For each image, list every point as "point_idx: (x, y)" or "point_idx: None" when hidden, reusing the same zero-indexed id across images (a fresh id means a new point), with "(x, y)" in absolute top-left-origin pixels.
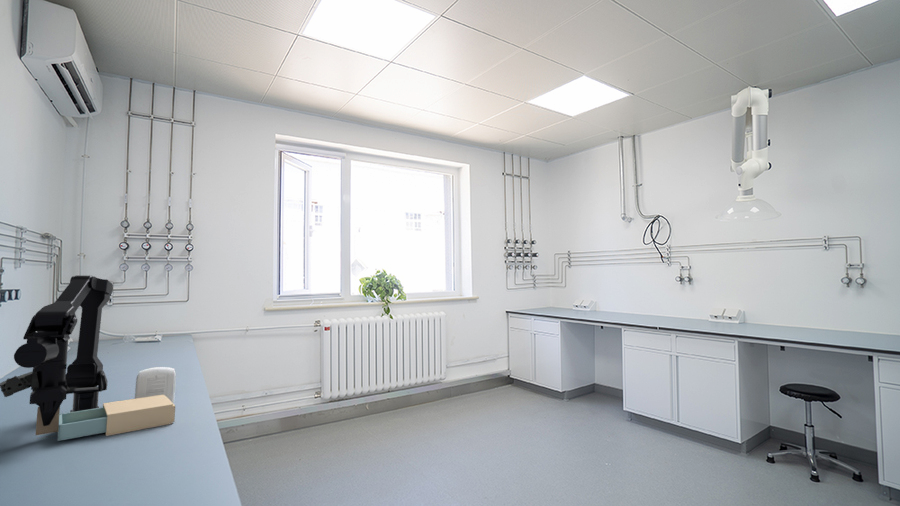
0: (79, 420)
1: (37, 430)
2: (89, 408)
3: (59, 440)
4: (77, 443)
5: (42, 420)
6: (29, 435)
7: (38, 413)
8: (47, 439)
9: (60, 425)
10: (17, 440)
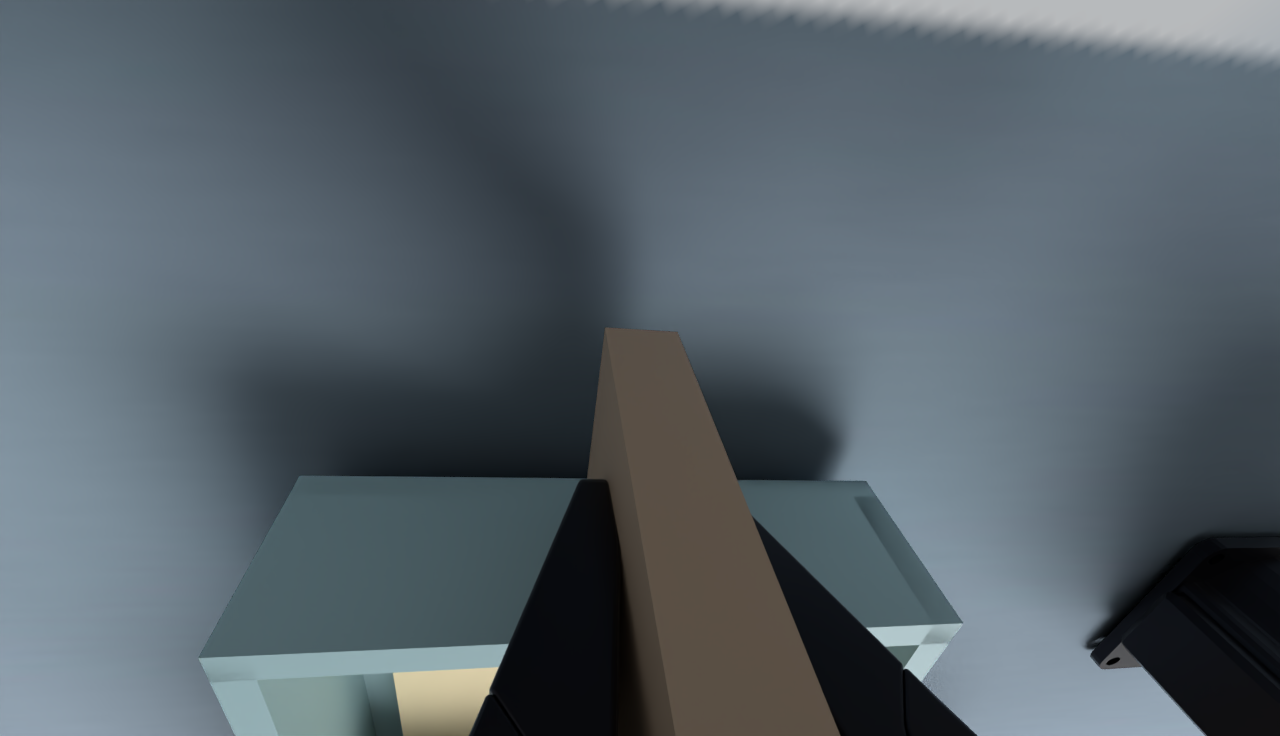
0: None
1: (613, 380)
2: (1156, 665)
3: (300, 488)
4: (211, 566)
5: (553, 547)
6: (964, 260)
7: (646, 640)
8: None
9: (209, 663)
10: (871, 135)
